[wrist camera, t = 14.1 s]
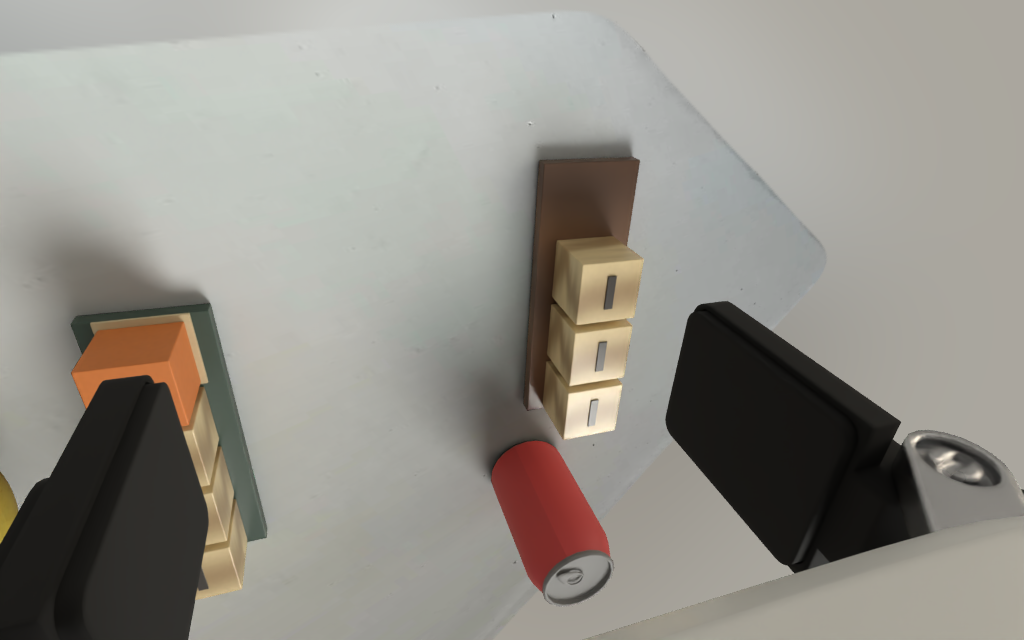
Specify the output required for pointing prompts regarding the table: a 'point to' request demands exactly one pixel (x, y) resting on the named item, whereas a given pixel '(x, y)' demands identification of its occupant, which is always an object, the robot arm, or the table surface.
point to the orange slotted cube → (142, 362)
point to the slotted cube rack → (207, 443)
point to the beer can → (552, 524)
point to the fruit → (6, 507)
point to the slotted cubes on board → (581, 292)
